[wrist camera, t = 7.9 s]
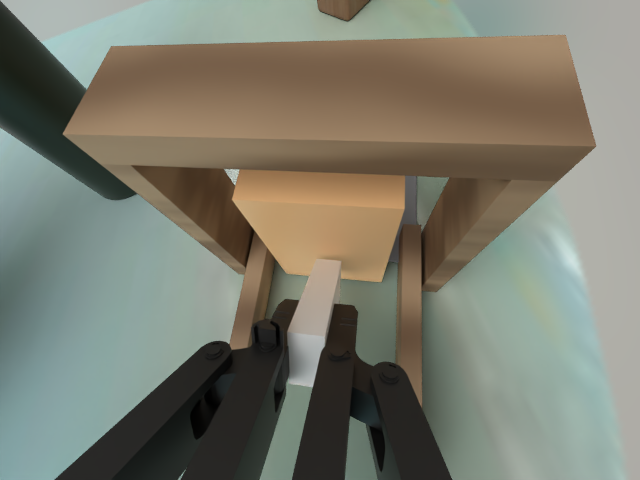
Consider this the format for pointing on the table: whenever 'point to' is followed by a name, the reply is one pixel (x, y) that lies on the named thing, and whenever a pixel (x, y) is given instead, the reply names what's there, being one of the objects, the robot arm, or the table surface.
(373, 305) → the table surface
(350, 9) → the wooden block
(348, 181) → the tan l-shaped block
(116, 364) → the table surface
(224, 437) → the robot arm
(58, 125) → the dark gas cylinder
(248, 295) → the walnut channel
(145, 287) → the table surface
